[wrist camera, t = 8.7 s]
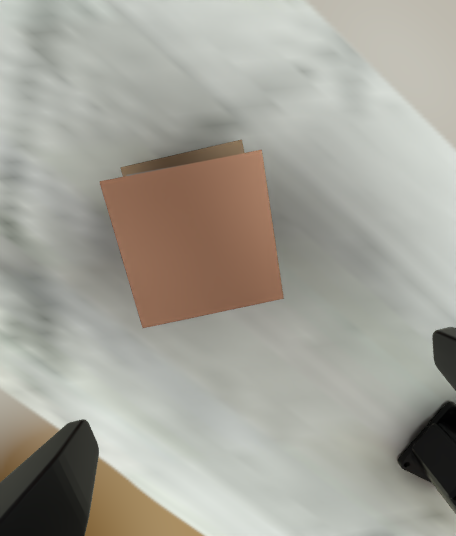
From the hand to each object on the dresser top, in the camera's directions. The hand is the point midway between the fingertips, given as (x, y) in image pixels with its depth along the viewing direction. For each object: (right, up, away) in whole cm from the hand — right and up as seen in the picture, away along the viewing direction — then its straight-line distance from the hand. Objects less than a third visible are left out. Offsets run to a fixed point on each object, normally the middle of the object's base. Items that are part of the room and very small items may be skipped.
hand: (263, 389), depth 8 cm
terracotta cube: (-2, +5, +6) cm, 8 cm away
